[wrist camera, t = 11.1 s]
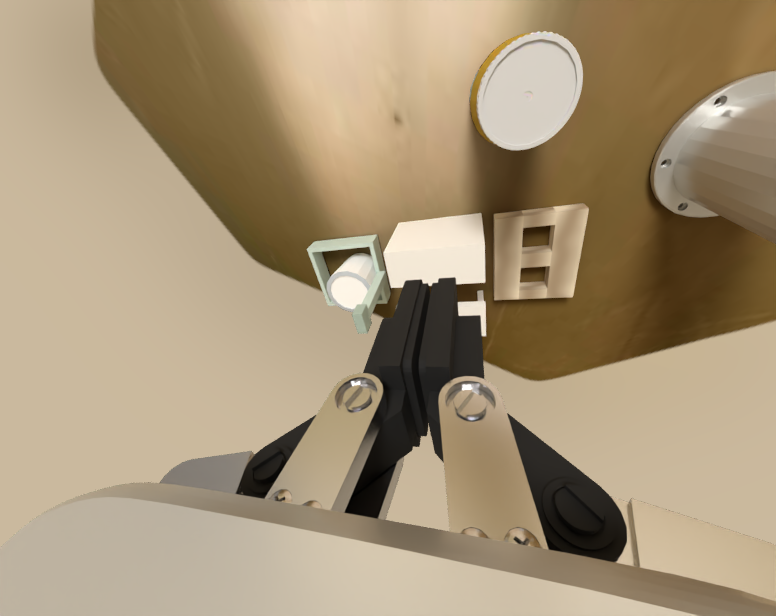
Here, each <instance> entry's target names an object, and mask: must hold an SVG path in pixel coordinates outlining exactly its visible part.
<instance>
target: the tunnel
mask: <svg viewBox="0 0 776 616" xmlns="http://www.w3.org/2000/svg"><path fill="white" fill-rule="evenodd" d="M383 254H384V258H385V263H386V267H387V272H388V276H389V281H390V285H391V288H399V287H403V286H404V283H405V281H406V280H420V279H421V280H422V282H423V283H428V285H429V286H432V283H438V279H439V278H452V277H455V278H456V284H470V283H485V241H484V232H483V223H482V214H481V213H477V214H469V215H461V216H453V217H444V218H436V219H428V220H419V221H411V222H403V223H398V225H397V227H396V229H395V231H394V233H393V235H392V237H391V239H390V241H389V243H388V245H387V247H386V249H385V251H384V253H383ZM477 296H478V301H475V302H458V313H459V316H473V315H480V316H481V332H482V336H486V304H485V301H484V299H483V290H481V291H477Z"/></svg>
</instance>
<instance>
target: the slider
mask: <svg viewBox="0 0 776 616" xmlns="http://www.w3.org/2000/svg"><path fill="white" fill-rule="evenodd" d="M362 247H370V251H371V255H372V259H373V263H374V267H375V271H376V276H375V278H374V280H373V282H372V284H371V286H370V288H369V290H368V292H367V294H366V296H365V298H364V300H363V302H362V304H357V305H356V307H355V309H354V311H353V314H352V317H353V320H354V323H355V326H356V329H357V332H358V333H368V331H369V328H370V326H371V324H372V322H371V318H370V317H371V315H372V312H373V310H374V308H375V305H376V304H385V303H387V302H388V300H389V297H390V294H391V293H390V289H389V284H388V280H387V275H386V271H385V266H384V262H383V258H382V253H381V249H380V244H379V240H378V235H369V236H360V237H351V238H342V239H333V240H324V241H315V242H313V243H312V244H311V245H310V246H309V247H308V248H307V251H308V253H309V256H310V259H311V261H312V264H313V267H314V269H315V272H316V275H317V277H318V280H319V283H320V285H321V288H322V291H323V293H324V296H325V299H326V301H327V304H328V306H335V304H334V303H333V301H332V300H331V299H330V298H329V295H328V292H327V282H328V280H329V279H330V275H329V272H328V269H327V266H326V263H325V260H324V257H323V255H322V251H332V250H342V249H352V248H362Z"/></svg>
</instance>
